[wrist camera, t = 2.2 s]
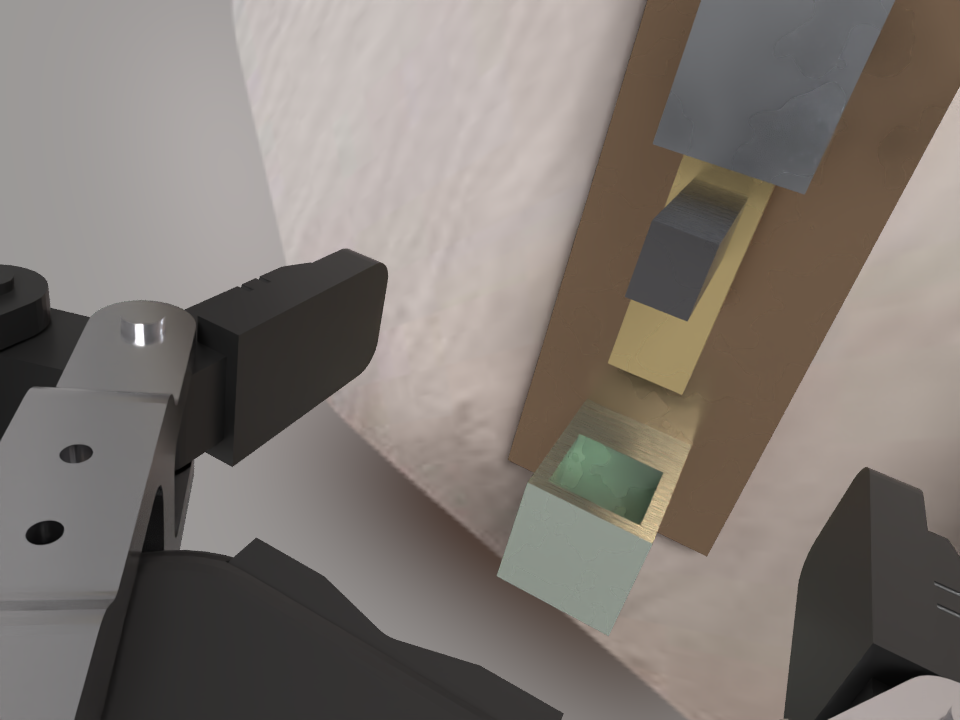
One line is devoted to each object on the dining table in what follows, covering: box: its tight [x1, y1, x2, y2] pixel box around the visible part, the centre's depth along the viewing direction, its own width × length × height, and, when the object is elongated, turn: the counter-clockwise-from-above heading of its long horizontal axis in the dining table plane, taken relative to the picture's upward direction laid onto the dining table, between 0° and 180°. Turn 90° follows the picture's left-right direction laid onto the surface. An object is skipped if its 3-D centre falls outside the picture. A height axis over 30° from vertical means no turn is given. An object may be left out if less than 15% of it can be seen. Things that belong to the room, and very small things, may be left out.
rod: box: [608, 155, 776, 395], centre depth 18 cm, size 19×3×8 cm, turn 167°
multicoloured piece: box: [497, 0, 960, 636], centre depth 24 cm, size 30×10×8 cm, turn 167°
